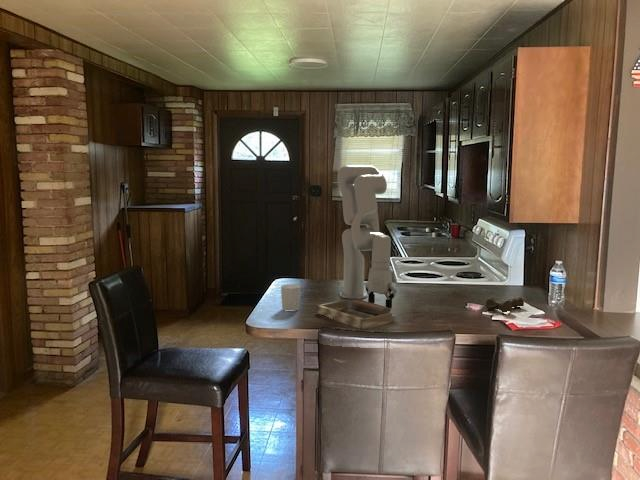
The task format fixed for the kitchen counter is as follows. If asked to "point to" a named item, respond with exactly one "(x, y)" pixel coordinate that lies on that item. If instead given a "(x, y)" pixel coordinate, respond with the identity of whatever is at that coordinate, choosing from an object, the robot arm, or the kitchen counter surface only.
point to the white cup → (290, 296)
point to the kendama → (504, 304)
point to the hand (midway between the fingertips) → (379, 306)
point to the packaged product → (368, 309)
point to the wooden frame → (354, 321)
